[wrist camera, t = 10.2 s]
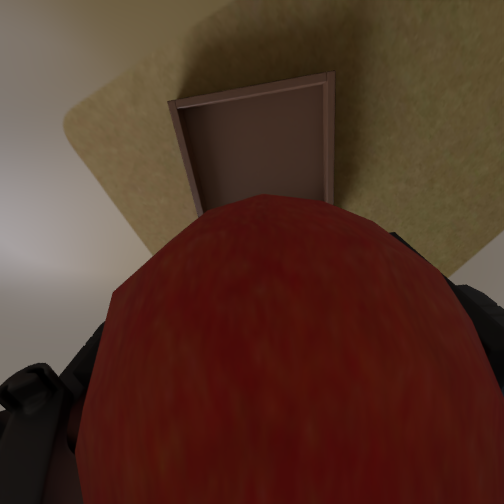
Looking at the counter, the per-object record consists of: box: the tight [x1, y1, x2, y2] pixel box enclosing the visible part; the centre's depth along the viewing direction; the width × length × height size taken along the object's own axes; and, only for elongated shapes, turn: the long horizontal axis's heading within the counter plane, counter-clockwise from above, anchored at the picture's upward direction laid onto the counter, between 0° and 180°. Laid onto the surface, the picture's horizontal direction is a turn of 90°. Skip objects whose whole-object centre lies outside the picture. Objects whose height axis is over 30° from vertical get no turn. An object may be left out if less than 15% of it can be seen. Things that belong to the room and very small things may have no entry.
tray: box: [167, 70, 336, 218], centre depth 28 cm, size 17×17×2 cm
